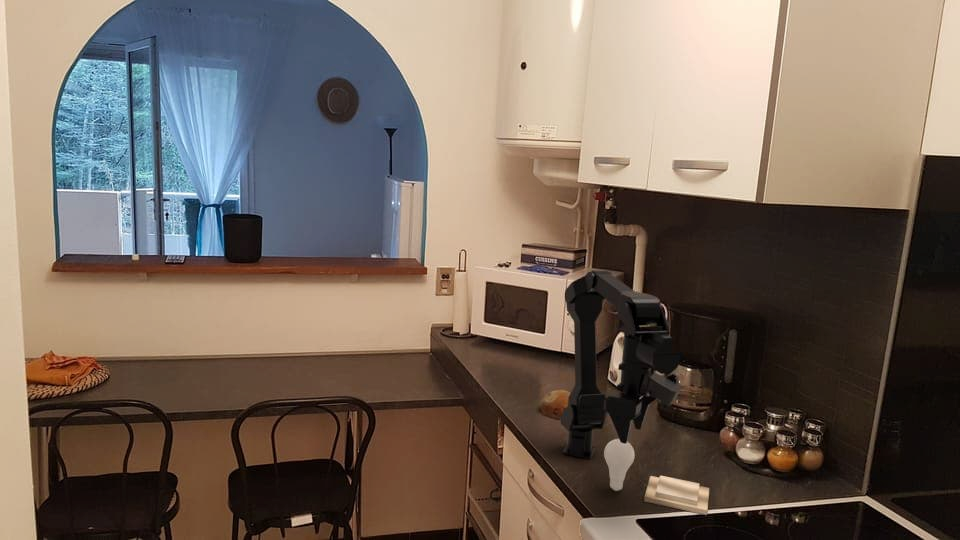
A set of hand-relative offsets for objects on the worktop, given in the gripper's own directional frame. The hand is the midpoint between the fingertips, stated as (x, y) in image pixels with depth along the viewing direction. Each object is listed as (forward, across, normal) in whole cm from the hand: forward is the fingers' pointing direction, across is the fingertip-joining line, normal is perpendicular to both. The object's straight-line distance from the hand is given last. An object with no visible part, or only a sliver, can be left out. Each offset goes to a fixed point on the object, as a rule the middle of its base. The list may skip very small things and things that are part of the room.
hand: (631, 435), depth 134 cm
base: (+13, +7, -8) cm, 17 cm away
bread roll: (+12, +35, +30) cm, 48 cm away
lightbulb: (+13, +2, +3) cm, 14 cm away
